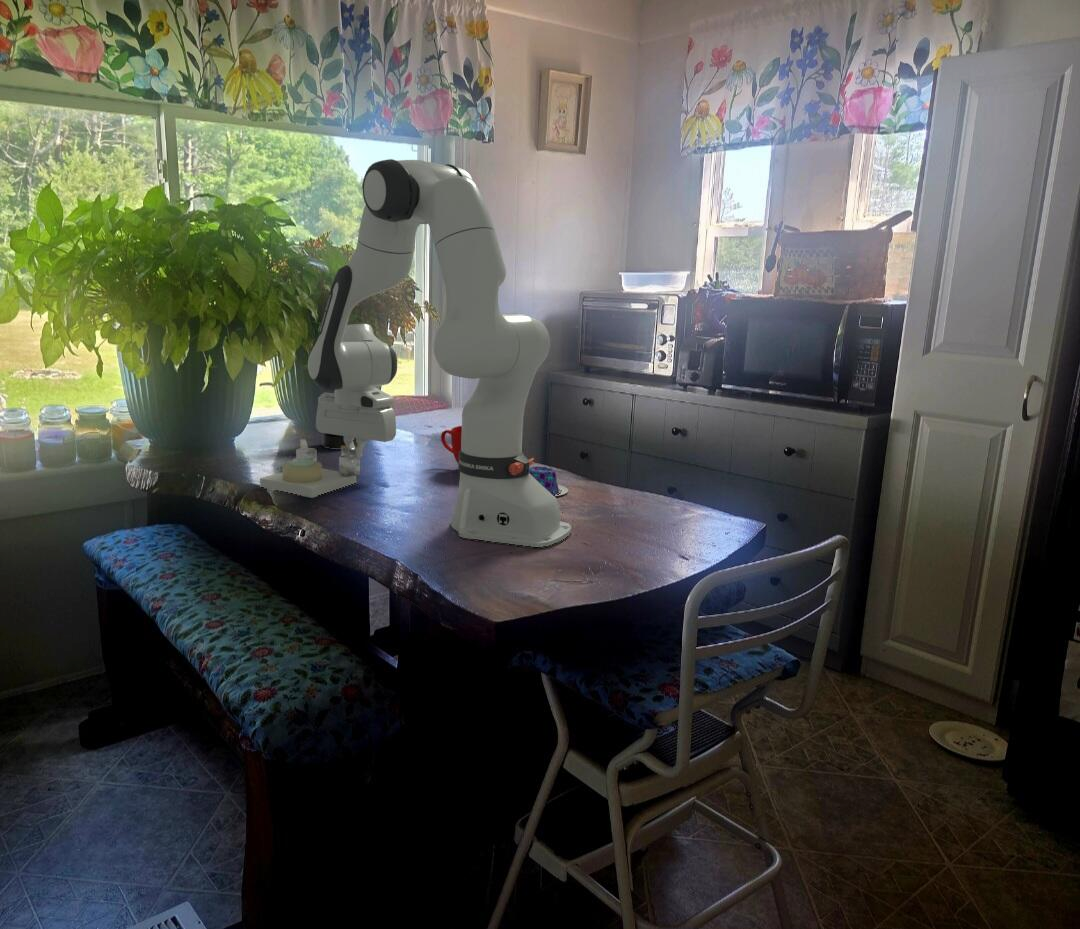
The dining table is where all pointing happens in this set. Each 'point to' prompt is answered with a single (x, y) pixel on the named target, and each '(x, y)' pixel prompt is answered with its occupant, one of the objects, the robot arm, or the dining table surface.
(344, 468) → the near knob
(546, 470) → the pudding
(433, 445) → the dining table surface
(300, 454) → the far knob
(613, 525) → the dining table surface
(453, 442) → the ceramic cup
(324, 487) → the base
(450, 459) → the dining table surface
